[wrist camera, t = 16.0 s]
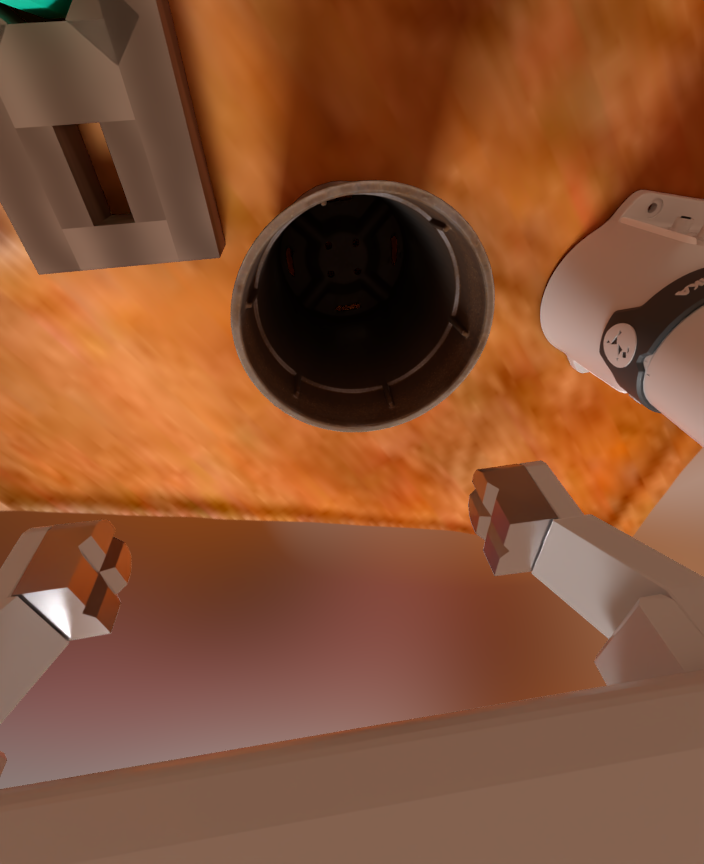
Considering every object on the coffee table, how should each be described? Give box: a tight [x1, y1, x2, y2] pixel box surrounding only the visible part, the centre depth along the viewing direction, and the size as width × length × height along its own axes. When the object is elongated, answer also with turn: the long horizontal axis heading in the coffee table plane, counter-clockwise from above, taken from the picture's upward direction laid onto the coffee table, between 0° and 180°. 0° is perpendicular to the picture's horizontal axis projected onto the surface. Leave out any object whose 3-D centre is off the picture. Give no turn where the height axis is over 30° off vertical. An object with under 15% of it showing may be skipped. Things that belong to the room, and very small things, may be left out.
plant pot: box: [231, 180, 495, 432], centre depth 31 cm, size 16×16×16 cm
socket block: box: [0, 0, 226, 275], centre depth 26 cm, size 14×24×4 cm, turn 3°
